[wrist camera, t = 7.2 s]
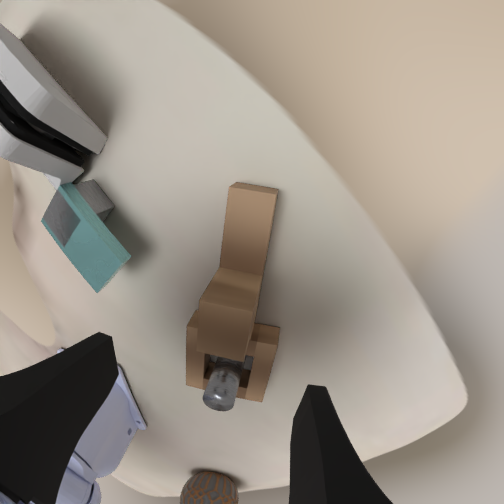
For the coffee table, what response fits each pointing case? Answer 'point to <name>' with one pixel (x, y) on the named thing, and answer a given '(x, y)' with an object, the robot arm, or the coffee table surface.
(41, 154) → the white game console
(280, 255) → the coffee table surface
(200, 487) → the vase
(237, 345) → the link
